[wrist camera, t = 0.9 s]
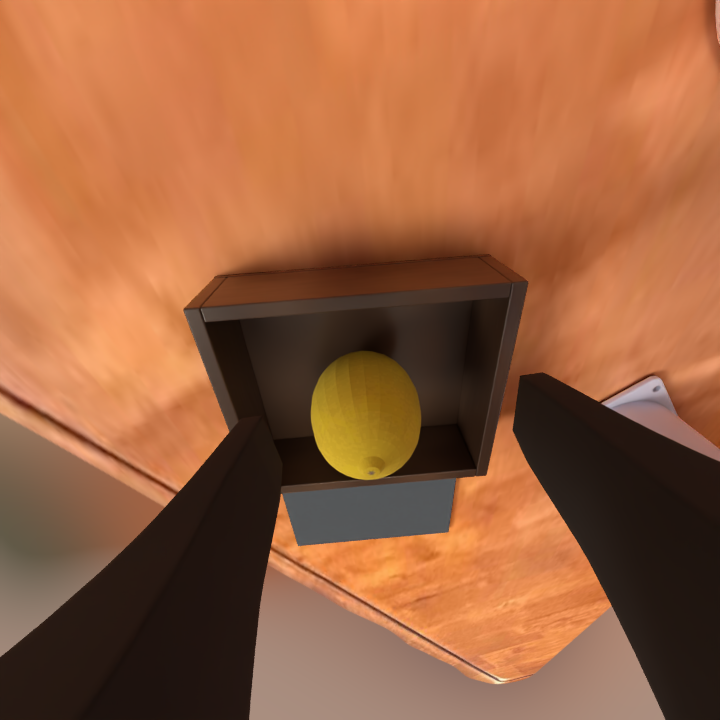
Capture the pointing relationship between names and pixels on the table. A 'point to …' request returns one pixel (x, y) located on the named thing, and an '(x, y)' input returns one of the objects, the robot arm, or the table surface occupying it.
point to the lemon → (365, 415)
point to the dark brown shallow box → (365, 333)
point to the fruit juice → (718, 19)
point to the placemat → (371, 511)
